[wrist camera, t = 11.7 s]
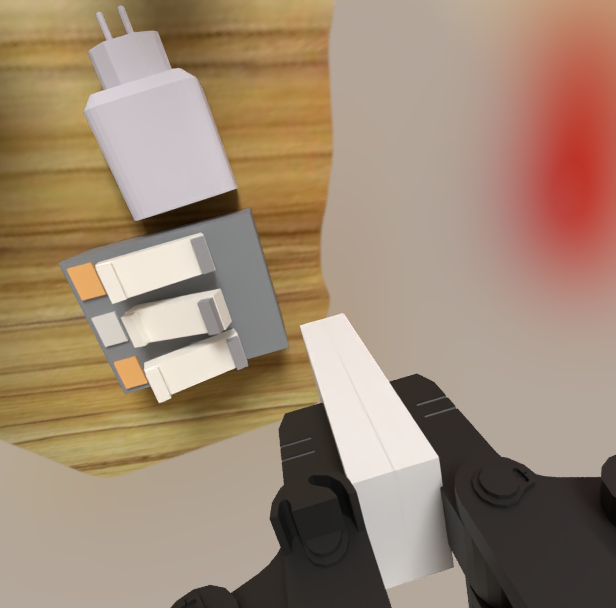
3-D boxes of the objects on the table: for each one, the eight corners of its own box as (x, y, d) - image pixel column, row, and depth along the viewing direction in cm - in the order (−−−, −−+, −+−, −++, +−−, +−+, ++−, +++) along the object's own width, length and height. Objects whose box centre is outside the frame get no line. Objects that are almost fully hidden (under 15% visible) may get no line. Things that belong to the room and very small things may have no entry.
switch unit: (140, 363, 39) (118, 399, 33) (87, 250, 35) (49, 266, 28) (284, 323, 40) (289, 351, 34) (250, 207, 36) (249, 213, 29)
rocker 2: (149, 335, 32) (134, 348, 30) (135, 304, 31) (119, 316, 29) (231, 321, 30) (222, 334, 28) (220, 288, 29) (209, 299, 27)
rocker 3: (157, 391, 32) (158, 404, 29) (144, 362, 31) (143, 374, 28) (243, 356, 34) (249, 366, 32) (233, 328, 33) (239, 336, 31)
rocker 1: (114, 298, 28) (111, 305, 26) (97, 262, 27) (93, 267, 25) (212, 266, 31) (217, 271, 29) (200, 232, 30) (204, 234, 28)
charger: (174, 6, 30) (238, 188, 35) (66, 39, 29) (147, 217, 35) (160, -24, 25) (236, 189, 31) (32, 14, 25) (132, 223, 30)
